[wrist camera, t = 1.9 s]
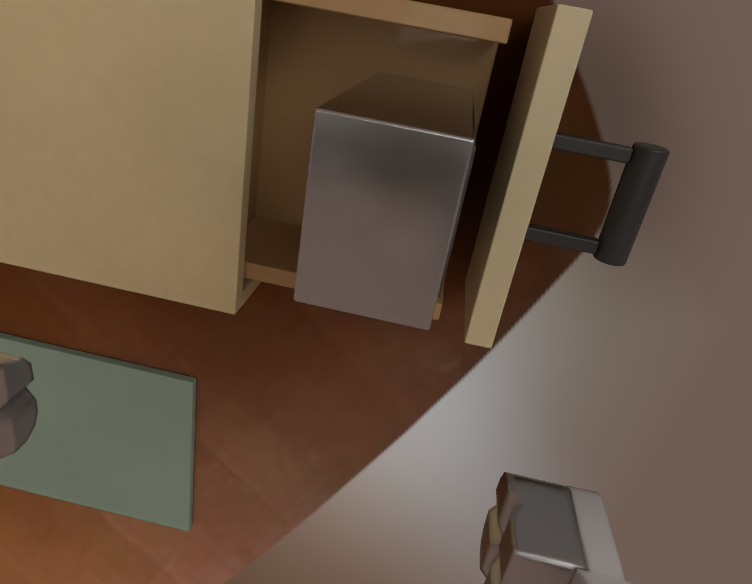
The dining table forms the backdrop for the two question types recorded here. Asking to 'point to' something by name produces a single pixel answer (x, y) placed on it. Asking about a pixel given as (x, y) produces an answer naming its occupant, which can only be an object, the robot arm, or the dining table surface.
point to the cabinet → (130, 143)
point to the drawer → (520, 140)
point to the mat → (106, 434)
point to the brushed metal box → (385, 197)
